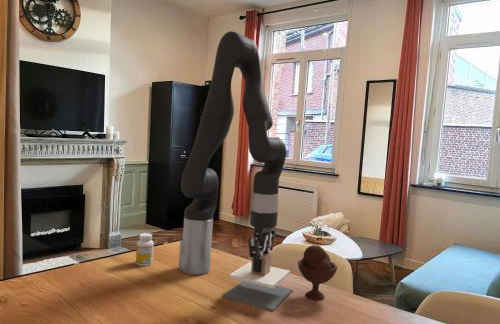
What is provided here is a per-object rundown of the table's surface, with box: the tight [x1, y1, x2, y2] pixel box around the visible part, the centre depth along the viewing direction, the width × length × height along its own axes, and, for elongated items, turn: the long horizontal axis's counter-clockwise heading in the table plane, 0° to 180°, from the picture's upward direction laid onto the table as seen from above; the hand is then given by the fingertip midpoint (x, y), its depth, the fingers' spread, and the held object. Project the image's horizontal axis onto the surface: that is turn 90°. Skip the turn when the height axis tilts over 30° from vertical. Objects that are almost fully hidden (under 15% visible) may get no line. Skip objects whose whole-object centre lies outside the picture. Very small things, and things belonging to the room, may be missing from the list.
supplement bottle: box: [135, 232, 155, 267], centre depth 123 cm, size 5×5×10 cm
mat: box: [222, 281, 294, 312], centre depth 105 cm, size 15×15×1 cm
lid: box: [228, 251, 291, 288], centre depth 104 cm, size 13×13×6 cm
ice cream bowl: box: [297, 244, 338, 302], centre depth 106 cm, size 11×11×15 cm
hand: (260, 269), depth 104 cm, fingers closed on lid, 4 cm apart
